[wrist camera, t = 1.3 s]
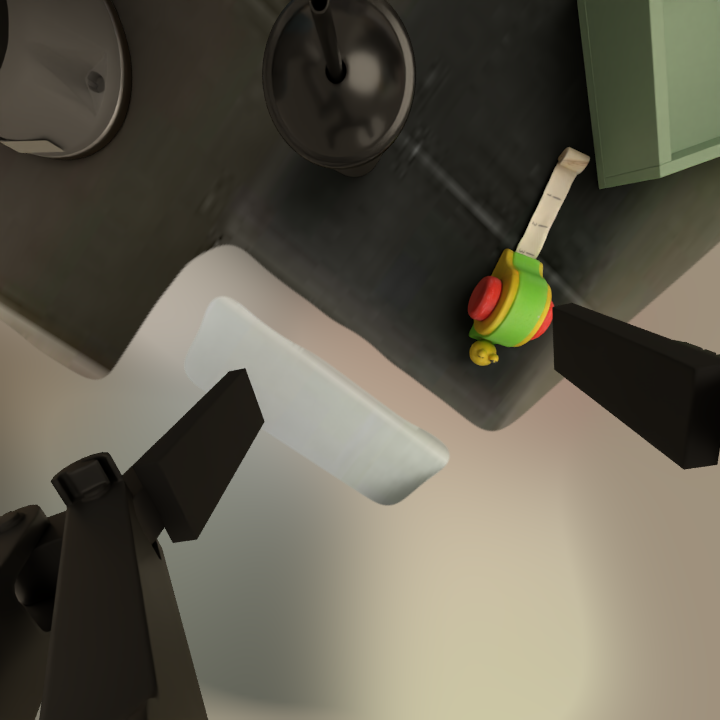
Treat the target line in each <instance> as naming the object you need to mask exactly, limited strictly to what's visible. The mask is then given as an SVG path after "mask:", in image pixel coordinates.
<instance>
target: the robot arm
mask: <svg viewBox="0 0 720 720" xmlns="http://www.w3.org/2000/svg"><path fill="white" fill-rule="evenodd" d="M131 87H132V68H131V59H130V53H129V48H128V44H127V40H126V36H125V33H124V30H123V27H122V24H121V21H120V19H119V17H118V14H117V12H116V10H115V8H114V6H113V4H112V2H111V0H0V142H1V143H3V144H4V145H6V146H8V147H10V148H12V149H14V150H16V151H17V152H19V153H30V154H33V155H38V156H42V157H47V158H51V159H58V160H73V159H79V158H83V157H86V156H89V155H91V154H94V153H95V152H97V151H99V150H100V149H102V148H103V147H104V146H106V145H107V144H108V143H109V142H110V141H111V140H112V138H113V137H114V136H115V135H116V133H117V132H118V130H119V129H120V127H121V125H122V123H123V121H124V119H125V116H126V113H127V110H128V106H129V102H130V96H131ZM552 313H553V344H554V370H556V371H557V372H558V373H560V374H561V375H562V376H564V377H565V378H566V379H567V380H569V381H570V382H571V383H573V384H574V385H575V386H577V387H578V388H579V389H580V390H582V391H583V392H584V393H586V394H587V395H588V396H590V397H591V398H592V399H593V400H595V401H596V402H597V403H599V404H600V405H601V406H602V407H604V408H605V409H606V410H608V411H609V412H610V413H612V414H613V415H614V416H615V417H617V418H618V419H619V420H620V421H622V422H623V423H625V424H626V425H627V426H628V427H630V428H631V429H632V430H633V431H635V432H636V433H637V434H639V435H640V436H641V437H642V438H644V439H645V440H646V441H648V442H649V443H650V444H651V445H653V446H654V447H655V448H657V449H658V450H659V451H661V452H662V453H663V454H665V455H666V456H667V457H668V458H670V459H671V460H672V461H673V462H675V463H676V464H678V465H679V466H680V467H681V468H683V469H691V468H698V467H705V466H711V465H717V464H718V456H719V451H720V354H719V355H716V353H714V352H712V351H709V350H703V349H702V348H700V347H698V346H695V345H692V344H689V343H687V342H681V341H676V340H671V339H669V338H666V337H663V336H660V335H658V334H655V333H652V332H649V331H647V330H644V329H641V328H638V327H636V326H633V325H631V324H628V323H625V322H622V321H620V320H617V319H614V318H612V317H609V316H606V315H603V314H601V313H598V312H595V311H593V310H590V309H587V308H584V307H582V306H579V305H576V304H574V303H570V304H565V305H560V306H555V307H552ZM263 423H264V419H263V416H262V413H261V410H260V408H259V405H258V402H257V399H256V397H255V394H254V391H253V388H252V385H251V383H250V380H249V377H248V374H247V372H246V369H245V368H244V369H239V370H234V371H229V372H228V373H227V374H226V375H225V376H224V377H223V378H222V379H221V380H220V381H219V382H218V383H217V384H216V385H215V386H214V387H213V388H212V389H211V390H210V391H209V392H208V393H207V394H206V395H205V396H204V397H202V399H200V400H199V401H198V402H197V403H196V404H195V405H194V406H193V407H192V408H191V409H190V410H189V411H188V412H187V413H186V414H185V415H184V416H183V417H182V418H181V419H180V420H179V421H178V422H177V423H176V424H175V425H174V426H173V427H172V428H171V429H170V430H169V431H168V432H167V433H166V434H165V435H164V436H163V437H161V439H159V440H158V441H157V442H156V443H155V444H154V445H153V446H152V447H151V448H150V449H149V450H148V451H147V452H146V453H145V454H144V455H143V456H142V457H141V458H140V459H139V460H138V461H137V462H136V463H135V464H134V465H133V466H131V467H130V468H129V470H127V471H126V472H125V473H124V474H123V475H121V473H120V471H119V470H118V468H117V466H116V464H115V462H114V461H113V459H112V457H111V455H110V454H109V453H108V452H102V453H97V454H93V455H90V456H87V457H85V458H82V459H80V460H78V461H76V462H74V463H72V464H70V465H69V466H67V467H66V468H64V469H63V470H61V471H60V472H59V473H57V474H56V475H55V476H54V477H53V479H52V480H51V483H52V484H53V486H54V487H55V489H56V490H57V492H58V494H59V495H60V497H61V498H62V500H63V501H64V503H65V504H66V506H67V510H66V511H64V512H61V513H59V514H56V515H53V516H50V517H46V515H45V514H44V512H43V511H42V509H41V508H40V507H39V506H38V505H29V506H26V507H22V508H20V509H17V510H15V511H13V512H12V511H10V512H8V513H6V514H4V515H3V516H0V720H35V717H36V715H37V712H38V710H39V707H40V704H41V711H40V718H39V720H208V718H207V714H206V710H205V706H204V703H203V699H202V695H201V691H200V688H199V684H198V680H197V676H196V673H195V669H194V665H193V662H192V658H191V654H190V650H189V647H188V643H187V640H186V636H185V632H184V628H183V624H182V621H181V617H180V613H179V609H178V606H177V602H176V598H175V595H174V591H173V587H172V584H171V580H170V576H169V572H168V569H167V565H166V561H165V557H164V554H163V550H162V547H161V545H160V544H159V542H158V540H157V537H158V536H159V535H160V533H161V532H162V530H163V529H164V527H165V529H166V531H167V533H168V535H169V536H170V538H171V540H172V542H173V543H175V542H182V541H190V540H196V539H197V538H198V537H199V535H200V533H201V531H202V530H203V528H204V526H205V524H206V523H207V521H208V519H209V518H210V516H211V514H212V512H213V511H214V509H215V507H216V505H217V504H218V502H219V500H220V498H221V496H222V495H223V493H224V491H225V490H226V488H227V486H228V484H229V483H230V481H231V479H232V477H233V476H234V474H235V472H236V471H237V468H238V467H239V465H240V463H241V462H242V460H243V458H244V457H245V455H246V453H247V451H248V449H249V448H250V446H251V444H252V442H253V440H254V439H255V437H256V436H257V434H258V432H259V430H260V429H261V427H262V425H263ZM41 702H42V703H41Z"/></svg>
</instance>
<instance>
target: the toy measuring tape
mask: <svg viewBox="0 0 720 720" xmlns="http://www.w3.org/2000/svg"><path fill="white" fill-rule="evenodd" d="M558 160H559V162H558V164H557V165H556V167H555V168H554V171H553V173H552V175H551V178H550V180H549V182H548V184H547V186H546V188H545V190H544V193H543V196H542V198H541V200H540V202H539V204H538V206H537V208H536V210H535V212H534V214H533V216H532V218H531V220H530V222H529V225H528V227H527V229H526V232H525V234H524V236H523V238H522V239H521V241H520V242H519V244H518V247H517V249H516V251H515V252H513V251H512V250H510V249H505V250H504V251H503V253H502V255H501V257H500V259H499V261H498V263H497V265H496V267H495V269H494V271H493V273H492V275H491V276H486V277H484V278H483V279H482V280H481V281H480V282H479V283H478V284H477V286H476V287H475V289H474V291H473V292H472V294H471V297H470V300H469V304H468V313H469V315H470V317H471V318H473V319H474V324H473V326H472V328H471V330H470V332H469V337H471V338H474V339H477V340H478V341H476V342H475V343H473V345H472V346H471V348H470V358H471V360H472V361H473V362H474V363H475V364H477V365H488V364H490V363H491V362H492V363H496V362H497V361H498V356H497V355H496V348H495V346H494V344H501V345H503V346H506V347H512V346H513V347H518V346H521V345H523V344H525V343H526V342H528V341H529V340H532V339H535V338H537V337H539V336H541V335H542V334H543V333H544V332H545V331H546V330H547V328H548V327H549V325H550V323H551V321H552V318H553V313H552V307H554V304H553V302H552V301H551V297H552V295H551V289H550V286H549V285H548V284H547V282H546V281H545V279H544V278H543V275H542V272H543V264H542V263H540V261H538V260H536V258H537V256H538V255H539V253H540V251H541V249H542V247H543V244H544V242H545V240H546V237H547V234H548V232H549V229H550V227H551V226H552V223H553V221H554V220H555V218H556V216H557V213H558V211H559V209H560V207H561V205H562V204H563V201H564V200H565V197H566V195H567V193H568V191H569V189H570V187H571V184H572V182H573V181H574V179H575V177H576V175H577V174H579V173H581V172H582V171H583V170H584V169H585V167H586V166H587V164H588V163H589V161H590V157H589V156H587V155H585V154H583V153H581V152H579V151H577V150H575V149H572V148H570V147H567V148H566V149H565V150H564V151H563V152H562V154H561V155H560V156H559V158H558Z"/></svg>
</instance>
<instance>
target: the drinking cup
mask: <svg viewBox="0 0 720 720" xmlns="http://www.w3.org/2000/svg"><path fill="white" fill-rule="evenodd" d="M262 80H263V90H264V96H265V101H266V104H267V108H268V111H269V114H270V116H271V118H272V121H273V123H274V125H275V127H276V128H277V130H278V132H279V133H280V135H281V136H282V138H283V139H284V140H285V141H286V143H287V144H288V145H289V146H290V147H291V148H292V149H293V150H294V151H295V152H296V153H298V154H299V155H300V156H301V157H303V158H304V159H306V160H308V161H309V162H311V163H313V164H316V165H318V166H321V167H324V168H329V169H334V170H336V171H338V172H340V173H341V174H343V175H346V176H349V177H359V176H363V175H365V174H367V173H369V172H370V171H371V170H372V169H373V168H374V167H375V166H376V164H377V163H378V161H379V159H380V157H381V156H382V154H383V153H384V152H385V151H386V150H387V149H388V148H389V147H390V146H391V145H392V144H393V143H394V141H395V140H396V139H397V137H398V136H399V134H400V133H401V131H402V129H403V127H404V125H405V123H406V121H407V119H408V116H409V113H410V110H411V107H412V103H413V99H414V93H415V85H416V66H415V57H414V52H413V48H412V44H411V41H410V38H409V35H408V33H407V30H406V28H405V26H404V24H403V22H402V21H401V19H400V17H399V16H398V14H397V13H396V12H395V10H394V9H393V8H392V7H391V5H390V4H389V3H388V2H387V1H386V0H292V1H291V2H289V3H288V5H287V6H286V7H285V8H284V9H283V11H282V12H281V14H280V15H279V16H278V18H277V20H276V22H275V23H274V25H273V27H272V30H271V32H270V35H269V37H268V41H267V44H266V48H265V52H264V58H263V69H262Z"/></svg>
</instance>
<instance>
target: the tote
mask: <svg viewBox="0 0 720 720" xmlns="http://www.w3.org/2000/svg"><path fill="white" fill-rule="evenodd" d="M577 5H578V14H579V22H580V31H581V39H582V48H583V56H584V65H585V73H586V82H587V90H588V99H589V108H590V116H591V125H592V133H593V142H594V150H595V159H596V167H597V176H598V184H599V189H603V188H609V187H614V186H619V185H625V184H630V183H635V182H640V181H646V180H651V179H656V178H661V177H664V176H667V175H670V174H672V173H675V172H678V171H681V170H683V169H686V168H689V167H692V166H695V165H697V164H700V163H703V162H706V161H709V160H711V159H714V158H717V157H720V0H577Z"/></svg>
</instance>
